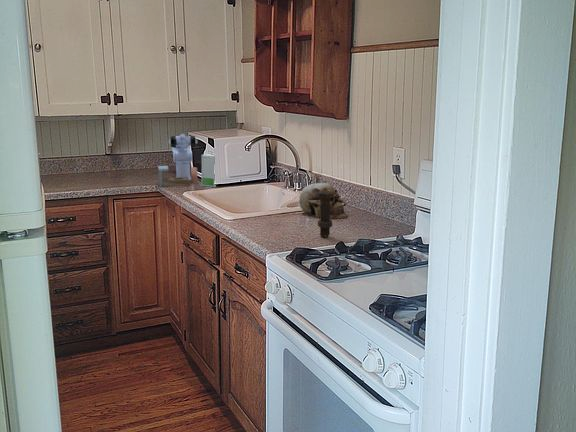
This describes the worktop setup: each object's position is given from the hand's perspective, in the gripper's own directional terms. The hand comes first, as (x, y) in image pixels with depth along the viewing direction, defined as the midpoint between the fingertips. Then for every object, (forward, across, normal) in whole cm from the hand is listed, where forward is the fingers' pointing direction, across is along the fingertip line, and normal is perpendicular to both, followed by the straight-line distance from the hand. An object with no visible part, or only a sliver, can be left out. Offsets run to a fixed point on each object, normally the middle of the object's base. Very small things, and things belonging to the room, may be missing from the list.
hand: (183, 141), depth 296 cm
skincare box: (+3, +13, +22) cm, 26 cm away
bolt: (+115, +40, +32) cm, 126 cm away
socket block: (-4, -5, +22) cm, 22 cm away
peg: (-7, +5, +21) cm, 23 cm away
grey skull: (+81, +49, +29) cm, 99 cm away
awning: (-4, -10, +22) cm, 24 cm away
